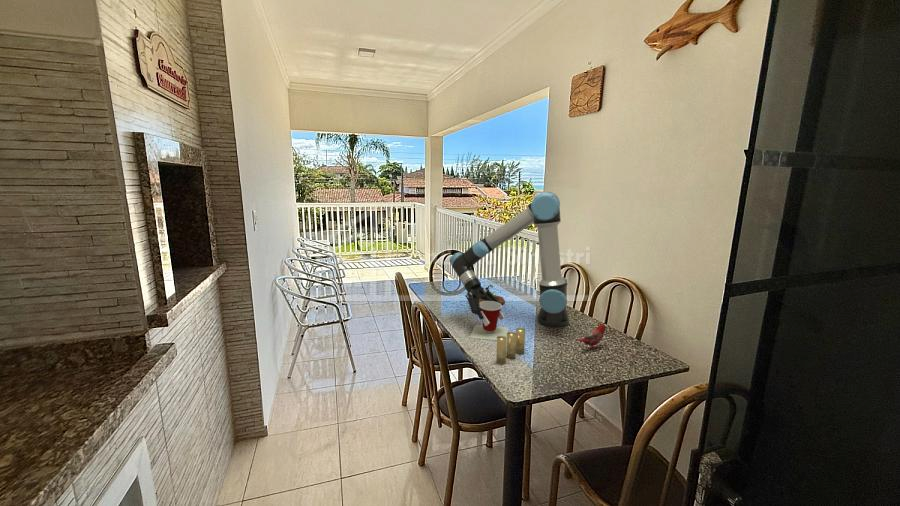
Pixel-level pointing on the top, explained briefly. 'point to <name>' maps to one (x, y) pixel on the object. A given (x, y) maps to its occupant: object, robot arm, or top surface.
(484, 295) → the plant
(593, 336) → the decorative bird figurine
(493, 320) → the plastic cup
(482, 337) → the mat
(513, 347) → the spacer posts
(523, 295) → the top surface
